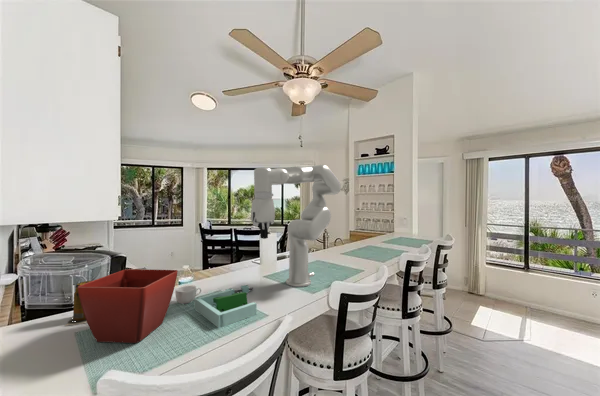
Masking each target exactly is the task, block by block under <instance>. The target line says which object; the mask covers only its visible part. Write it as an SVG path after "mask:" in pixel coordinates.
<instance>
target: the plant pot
mask: <svg viewBox="0 0 600 396" xmlns="http://www.w3.org/2000/svg"><path fill="white" fill-rule="evenodd" d="M177 276H178V270H177V269H141V268H140V269H135V268H134V269H133V268H130V269H128V268H126V269H122V270H119V271H116V272H114V273H111V274H107V275H106V276H103V277H100V278H97V279H94V280H90V281H91V282H88V283H85V284H82V285H80V286H78V292H79V297H80V302H81V306H82V309H83V313H84V315H85V318H86V321H87V323H86V324H87V326H88V328H89V330H90V332H91V333H92V336H93V338H94V339H95V341H96V342H97V343H122V344H123V343H124V344H126V343H127V344H128V343H129V344H135V343H139V342H141V341H143V339H145V338H146V337H148V336H149V335H150V334H151V333H152V332H154V331H155V330H156V329H157V328H159V327H160V326H161V325H162V324H163V323H164V320H165V319H166V315H167V312H168V309H169V307H170V304H171V301H172V297H173V294H174V291H175V288H176V281H177V278H178V277H177Z"/></svg>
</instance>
